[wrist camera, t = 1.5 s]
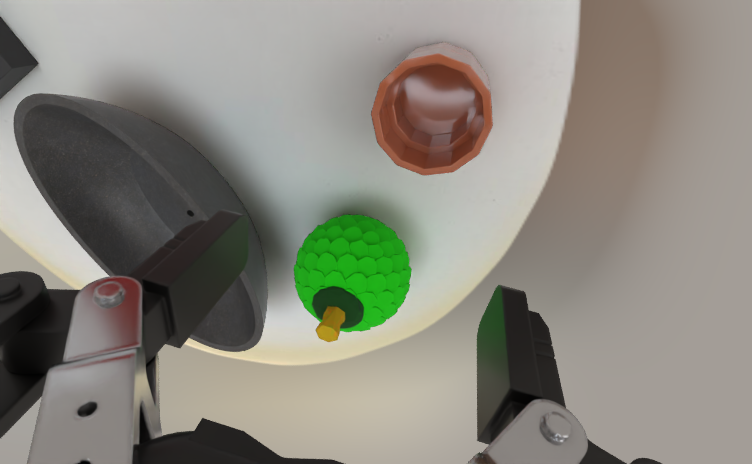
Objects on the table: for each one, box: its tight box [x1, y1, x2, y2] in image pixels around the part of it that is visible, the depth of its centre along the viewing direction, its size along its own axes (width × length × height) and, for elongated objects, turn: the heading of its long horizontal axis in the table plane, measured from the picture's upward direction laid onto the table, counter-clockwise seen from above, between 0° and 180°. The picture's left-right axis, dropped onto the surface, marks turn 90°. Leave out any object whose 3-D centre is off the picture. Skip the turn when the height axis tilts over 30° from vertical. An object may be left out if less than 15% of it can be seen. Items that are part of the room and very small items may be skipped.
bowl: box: [14, 94, 268, 352], centre depth 30 cm, size 12×22×6 cm, turn 29°
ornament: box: [294, 214, 411, 342], centre depth 26 cm, size 8×8×10 cm
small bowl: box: [371, 42, 493, 175], centre depth 22 cm, size 6×6×5 cm
